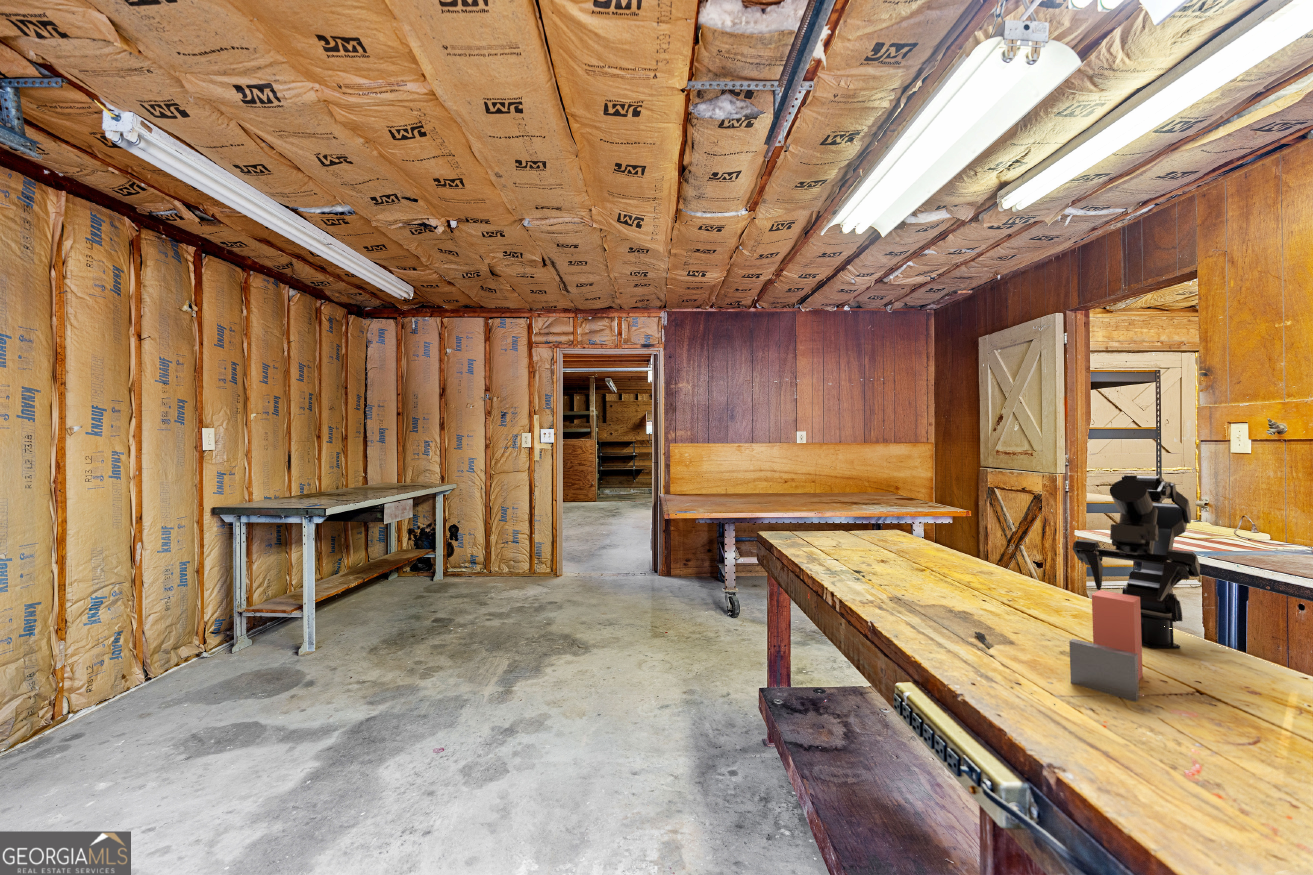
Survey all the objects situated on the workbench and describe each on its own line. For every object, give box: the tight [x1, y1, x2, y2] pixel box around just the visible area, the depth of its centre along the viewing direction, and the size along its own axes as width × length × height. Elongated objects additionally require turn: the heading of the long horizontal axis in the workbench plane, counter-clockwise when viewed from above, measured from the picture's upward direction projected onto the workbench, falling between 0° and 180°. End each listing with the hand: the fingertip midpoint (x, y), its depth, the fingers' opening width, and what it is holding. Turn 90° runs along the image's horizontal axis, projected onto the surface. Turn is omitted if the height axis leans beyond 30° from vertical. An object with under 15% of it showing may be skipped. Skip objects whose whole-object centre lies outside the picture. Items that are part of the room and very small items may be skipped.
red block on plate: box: [1091, 589, 1144, 682], centre depth 97 cm, size 5×6×15 cm
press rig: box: [1068, 638, 1145, 703], centre depth 95 cm, size 14×10×9 cm
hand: (1127, 594), depth 103 cm, fingers open, 9 cm apart
